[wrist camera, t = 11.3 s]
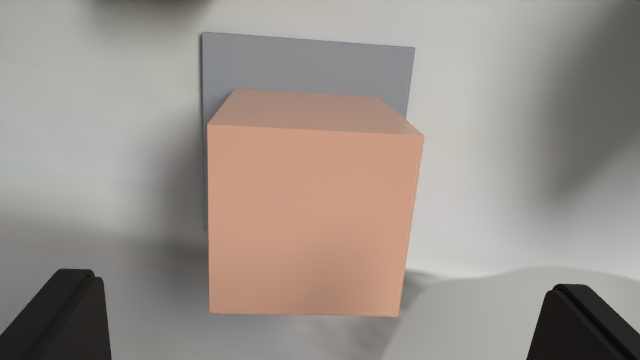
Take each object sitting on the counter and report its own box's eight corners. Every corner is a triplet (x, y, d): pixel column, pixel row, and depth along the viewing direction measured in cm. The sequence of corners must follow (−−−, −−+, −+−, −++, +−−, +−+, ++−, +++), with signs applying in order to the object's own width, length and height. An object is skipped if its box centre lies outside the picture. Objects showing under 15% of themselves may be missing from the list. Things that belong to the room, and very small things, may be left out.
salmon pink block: (234, 88, 22) (207, 124, 14) (378, 97, 23) (424, 135, 15) (233, 221, 24) (209, 313, 17) (364, 226, 25) (397, 316, 17)
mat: (203, 32, 21) (202, 32, 21) (413, 47, 22) (415, 47, 22) (205, 226, 25) (204, 230, 24) (388, 233, 26) (389, 237, 25)
